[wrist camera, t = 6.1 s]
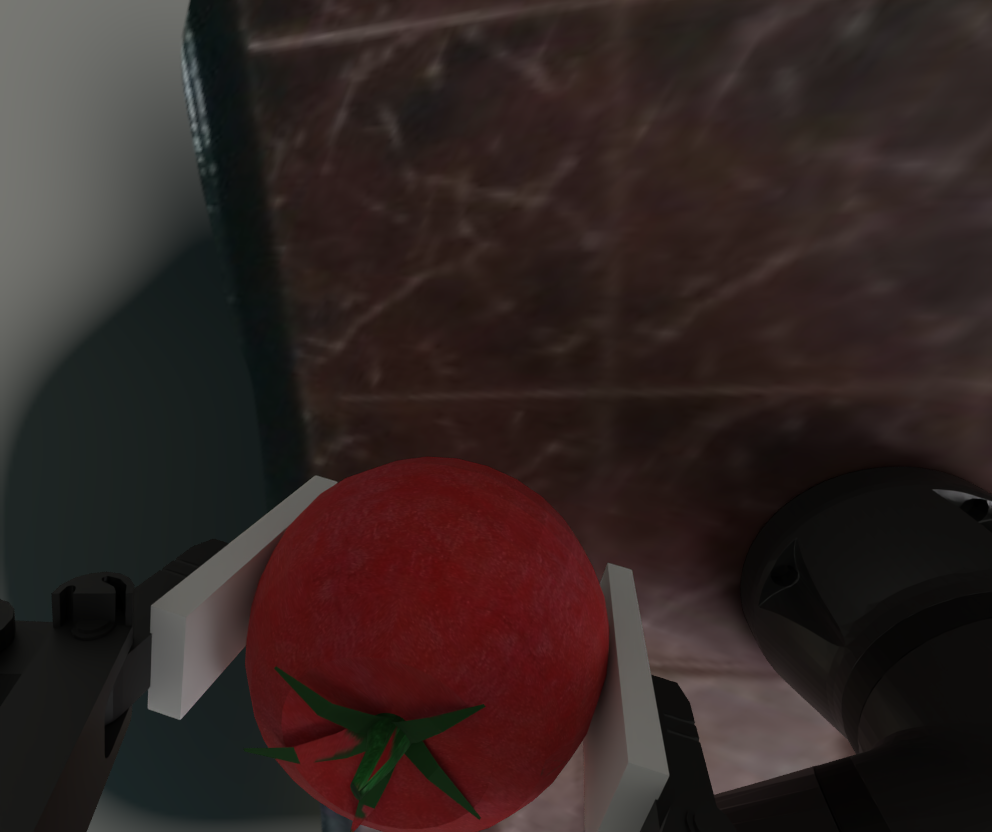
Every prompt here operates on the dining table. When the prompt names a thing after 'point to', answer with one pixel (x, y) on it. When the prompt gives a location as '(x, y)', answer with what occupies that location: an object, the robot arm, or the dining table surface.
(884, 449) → the dining table surface
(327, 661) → the tomato
